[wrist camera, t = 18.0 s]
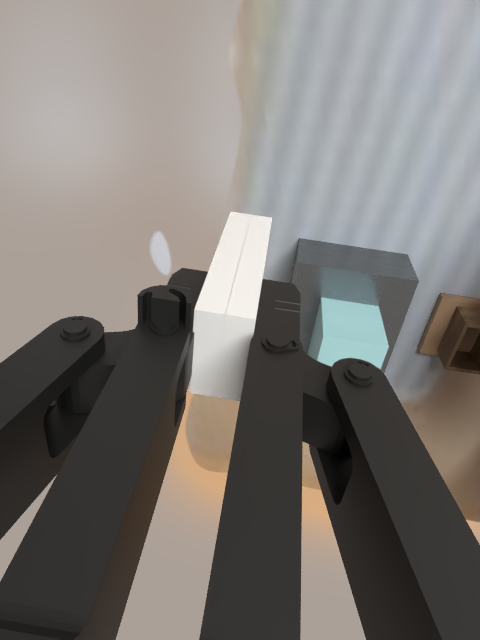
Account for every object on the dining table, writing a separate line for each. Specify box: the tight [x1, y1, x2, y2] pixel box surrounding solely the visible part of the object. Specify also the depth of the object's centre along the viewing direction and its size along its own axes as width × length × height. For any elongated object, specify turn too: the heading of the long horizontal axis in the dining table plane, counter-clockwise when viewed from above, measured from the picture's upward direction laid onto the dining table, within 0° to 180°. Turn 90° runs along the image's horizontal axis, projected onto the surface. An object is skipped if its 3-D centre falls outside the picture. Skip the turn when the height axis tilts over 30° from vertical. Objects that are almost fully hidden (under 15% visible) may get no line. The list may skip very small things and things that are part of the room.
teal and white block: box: [307, 297, 389, 369], centre depth 48 cm, size 6×9×14 cm, turn 174°
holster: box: [418, 293, 480, 374], centre depth 53 cm, size 8×8×4 cm
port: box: [291, 238, 419, 374], centre depth 53 cm, size 12×16×6 cm
